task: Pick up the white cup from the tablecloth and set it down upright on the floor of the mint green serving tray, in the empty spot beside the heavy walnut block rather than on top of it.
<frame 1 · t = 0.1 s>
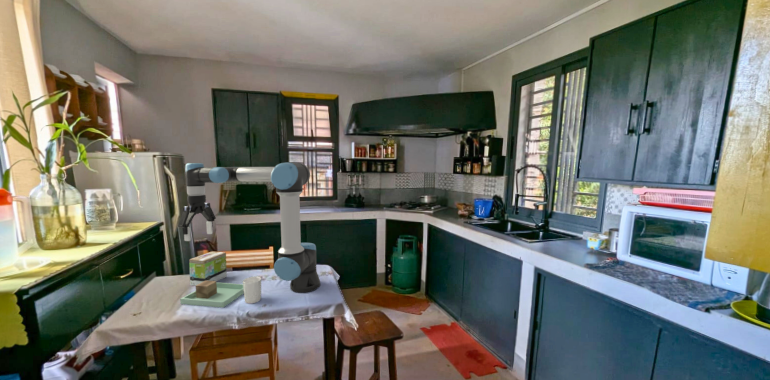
hand: (199, 237, 139), 28 cm above the table, fingers open, 13 cm apart
walnut block: (206, 295, 136), point 1 cm above the table, touching mint green serving tray
tea box: (209, 281, 154), on the table
mint green serving tray: (217, 297, 135), on the table
white cup: (253, 300, 132), on the table
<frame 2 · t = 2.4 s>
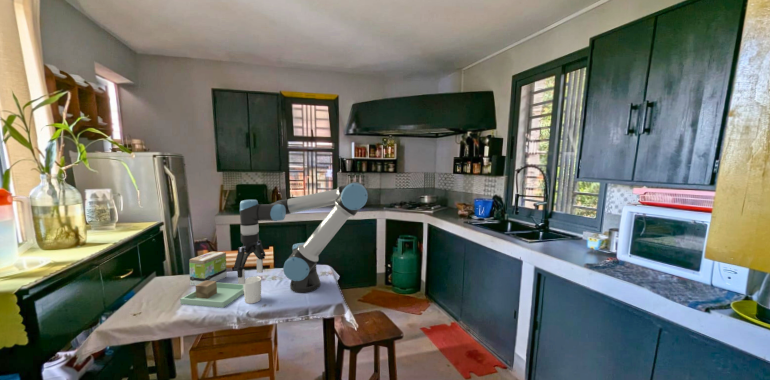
hand: (251, 277, 131), 11 cm above the table, fingers open, 13 cm apart
nothing on the table moved.
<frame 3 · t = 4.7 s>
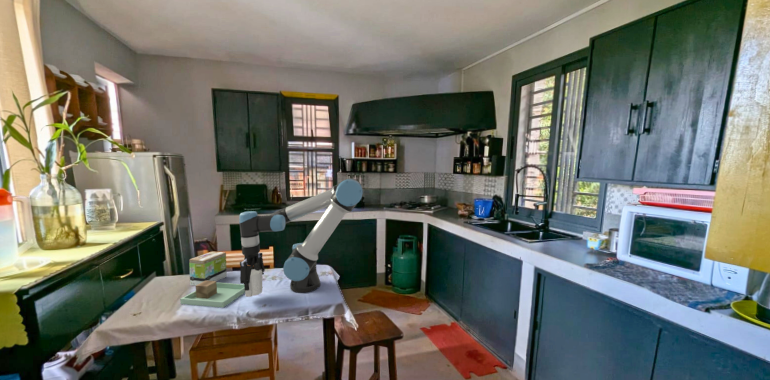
hand: (254, 292, 132), 4 cm above the table, fingers closed on white cup, 8 cm apart
white cup: (254, 293, 132), point 3 cm above the table, touching gripper
everything else where it was.
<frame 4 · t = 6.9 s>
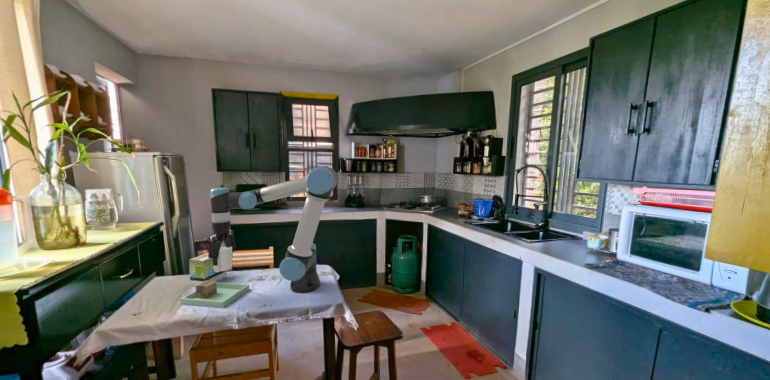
hand: (223, 268, 133), 15 cm above the table, fingers closed on white cup, 8 cm apart
white cup: (223, 269, 133), point 14 cm above the table, touching gripper
everything else where it was.
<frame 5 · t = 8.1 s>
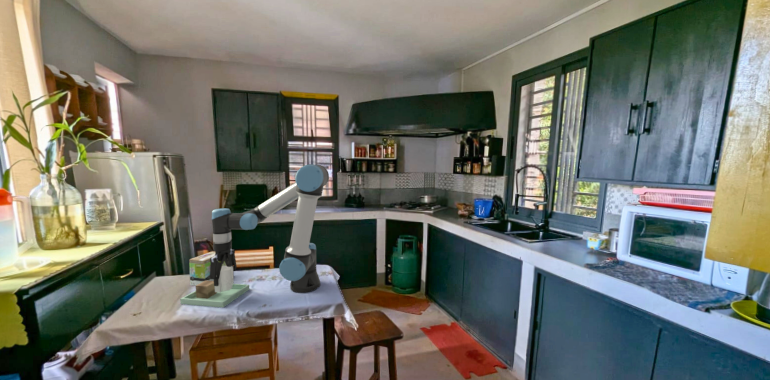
hand: (224, 288, 134), 5 cm above the table, fingers closed on white cup, 8 cm apart
white cup: (224, 289, 134), point 4 cm above the table, touching gripper
everything else where it was.
when the fingers open (3 cm above the table, at t = 9.0 s): white cup drops 2 cm, resting on mint green serving tray.
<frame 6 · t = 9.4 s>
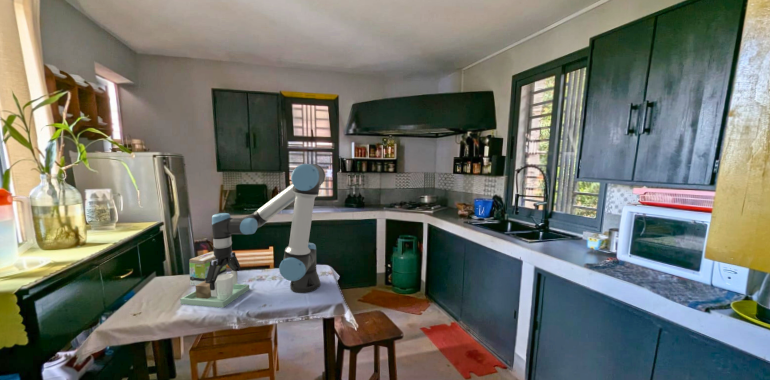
hand: (224, 289, 134), 4 cm above the table, fingers open, 13 cm apart
white cup: (225, 297, 134), resting on mint green serving tray
everything else where it was.
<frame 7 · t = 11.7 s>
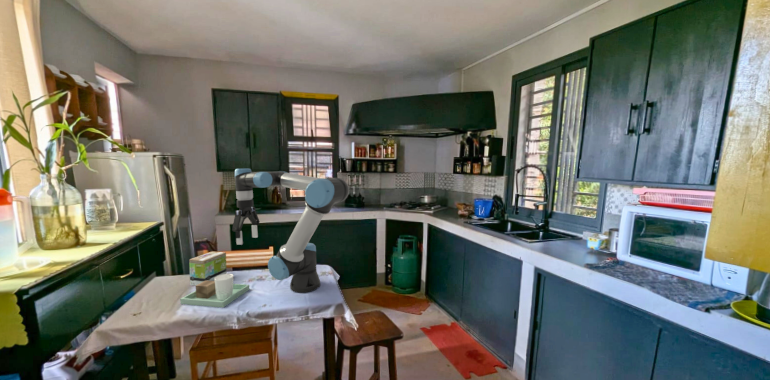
hand: (247, 240, 142), 25 cm above the table, fingers open, 13 cm apart
nothing on the table moved.
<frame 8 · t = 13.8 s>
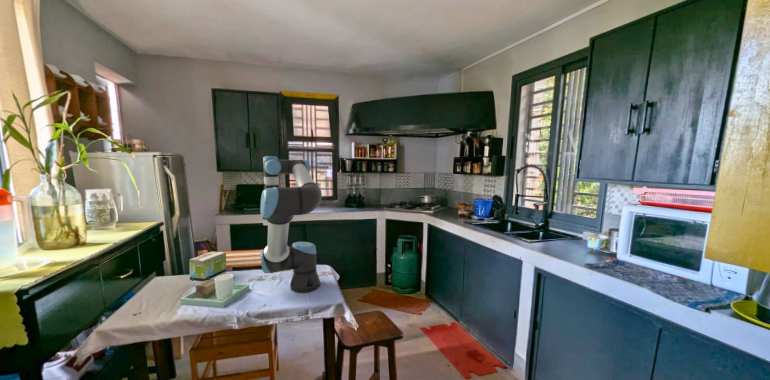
hand: (272, 222, 156), 32 cm above the table, fingers open, 13 cm apart
nothing on the table moved.
at the end: white cup inside the target area on the mint green serving tray (0.5 cm from its centre), point 0.4 cm above the mint green serving tray's base; white cup tilted 0°; white cup touching mint green serving tray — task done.
